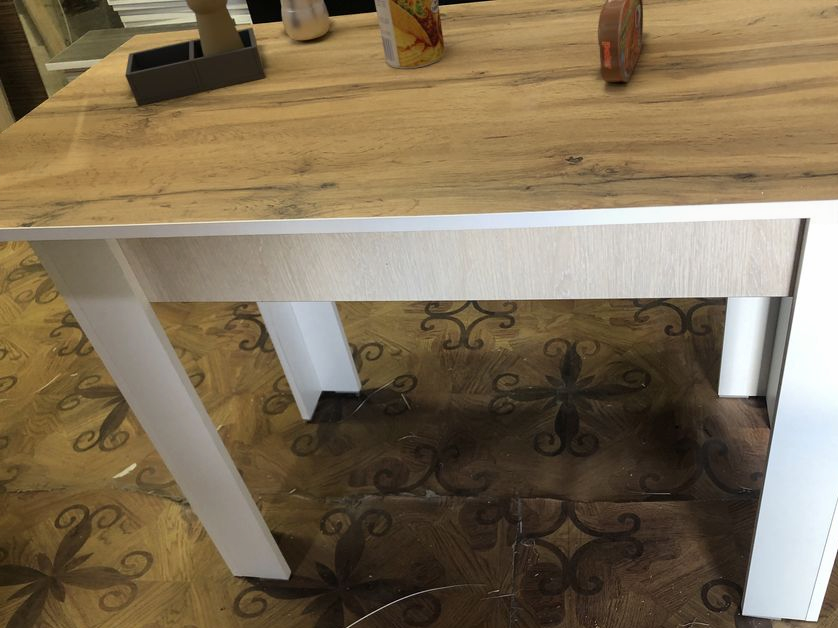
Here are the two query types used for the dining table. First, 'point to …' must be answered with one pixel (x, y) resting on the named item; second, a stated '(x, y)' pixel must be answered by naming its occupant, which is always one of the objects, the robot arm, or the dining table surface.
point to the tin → (620, 38)
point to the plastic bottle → (305, 18)
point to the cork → (215, 26)
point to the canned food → (410, 32)
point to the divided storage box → (191, 69)
